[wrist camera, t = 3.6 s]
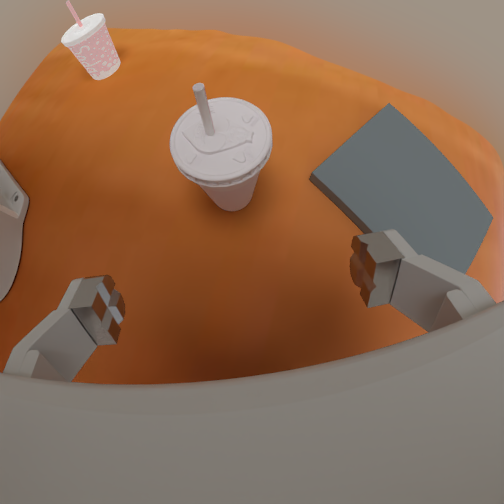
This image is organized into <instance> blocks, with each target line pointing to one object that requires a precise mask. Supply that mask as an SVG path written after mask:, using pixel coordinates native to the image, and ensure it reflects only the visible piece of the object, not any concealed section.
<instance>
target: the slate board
mask: <svg viewBox="0 0 504 504" xmlns="http://www.w3.org/2000/svg"><path fill="white" fill-rule="evenodd" d="M309 180H310V181H311V182H312V183H313V184H315V185H316V186H317V187H318V188H319V189H320V190H321V191H322V192H323V193H324V194H325V195H326V196H327V197H328V198H329V199H330V200H332V201H333V202H334V203H335V204H336V205H337V206H338V207H339V208H340V209H341V210H342V211H343V212H344V213H345V214H346V215H347V216H348V217H349V218H350V219H351V220H352V221H353V222H354V223H355V224H356V225H357V226H358V227H359V228H360V229H361V230H362V231H363V232H364V233H365V234H369V233H375V232H380V231H384V230H389V229H394V230H396V231H397V232H398V233H399V234H400V235H401V236H402V237H403V238H404V239H405V241H406V242H407V243H408V244H409V245H410V246H411V247H412V248H413V250H414V251H415V252H416V253H417V254H418V255H424V256H426V257H429V258H431V259H433V260H435V261H438V262H440V263H442V264H444V265H446V266H448V267H451V268H453V269H455V270H457V271H459V272H461V273H463V274H466V272H467V270H468V268H469V266H470V265H471V263H472V261H473V259H474V257H475V255H476V253H477V251H478V249H479V247H480V245H481V243H482V241H483V239H484V237H485V235H486V233H487V230H488V228H489V226H490V224H491V222H492V219H493V217H492V215H491V214H490V212H489V211H488V209H487V208H486V207H485V205H484V204H483V203H482V201H481V200H480V198H479V197H478V196H477V195H476V193H475V192H474V191H473V189H472V188H471V187H470V185H469V184H468V183H467V182H466V181H465V179H464V178H463V177H462V176H461V174H460V173H459V172H458V171H457V170H456V169H455V167H454V166H453V165H452V164H451V163H450V162H449V161H448V159H447V158H446V157H445V156H444V155H443V154H442V153H441V152H440V151H439V150H438V149H437V148H436V147H435V146H434V144H433V143H432V142H431V141H430V140H429V139H428V138H427V137H426V136H425V135H424V134H423V133H422V132H421V131H420V130H418V129H417V128H416V127H415V126H414V125H413V124H412V123H411V122H410V121H409V120H408V119H407V118H406V117H404V116H403V115H402V114H401V113H400V112H399V111H398V110H397V109H395V108H394V107H393V106H392V105H391V104H390V103H389V104H387V105H386V106H385V107H384V108H383V109H382V110H381V111H380V112H378V113H377V114H376V115H375V116H374V117H373V118H372V119H371V120H369V121H368V122H367V123H366V124H365V125H364V126H363V127H362V128H361V129H359V130H358V131H357V132H356V133H355V134H354V135H353V136H352V137H351V138H349V139H348V140H347V141H346V142H345V143H344V144H343V145H342V146H341V147H339V148H338V149H337V150H336V151H335V152H334V153H333V154H332V155H331V156H330V157H328V158H327V159H326V160H325V161H324V162H323V163H322V164H321V165H320V166H319V167H318V168H316V169H315V170H314V171H313V172H312V174H311V176H310V178H309Z"/></svg>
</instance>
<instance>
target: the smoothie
mask: <svg viewBox="0 0 504 504" xmlns="http://www.w3.org/2000/svg"><path fill="white" fill-rule="evenodd" d="M193 91H194V95H195V98H196V102H197V105H195V106H193V107H192V108H190V109H189V110H187V111H186V112H185V113H184V114H183V115H182V116H181V117H180V118H179V119H178V121H177V122H176V124H175V126H174V128H173V130H172V133H171V136H170V151H171V154H172V157H173V159H174V162H175V164H176V166H177V168H178V169H179V171H180V172H181V173H182V174H183V175H184V176H185V177H186V178H187V179H189V180H191V181H193V182H195V183H197V184H198V185H199V186H200V187H201V188H202V189H203V190H204V191H205V192H206V193H207V195H208V196H209V197H210V198H211V199H212V200H213V201H214V202H215V203H216V205H217V206H218V207H220V208H221V209H223V210H226V211H237V210H240V209H242V208H244V207H245V206H246V205H248V203H249V202H250V200H251V198H252V195H253V192H254V188H255V185H256V182H257V179H258V175H259V172H260V170H261V169H262V168H263V166H264V165H265V163H266V162H267V160H268V159H269V157H270V153H271V150H272V130H271V126H270V123H269V121H268V119H267V117H266V116H265V114H264V113H263V112H262V111H261V110H260V109H259V108H258V107H256V106H255V105H253V104H251V103H249V102H247V101H244V100H241V99H237V98H229V97H222V98H214V99H209V100H207V97H206V92H205V88H204V85H203V84H202V83H197V84H195V85H194V86H193Z"/></svg>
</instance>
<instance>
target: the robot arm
mask: <svg viewBox="0 0 504 504" xmlns="http://www.w3.org/2000/svg"><path fill="white" fill-rule="evenodd" d="M28 204H29V198H28V196H27V194H26V193H25V192H24V191H23V189H22V188H21V187H20V186H19V184H18V183H17V182H16V180H15V179H14V178H13V176H12V175H11V174H10V172H9V171H8V170H7V168H6V167H5V165H4V164H3V163H2V161H1V160H0V301H1V300H2V299H3V298H4V297H5V295H6V294H7V293H8V291H9V289H10V287H11V285H12V283H13V281H14V278H15V275H16V272H17V268H18V264H19V259H20V254H21V246H22V228H23V221H24V218H25V215H26V212H27V208H28ZM351 247H352V249H353V251H354V254H353V255H352V256H351V258H350V274H351V277H352V280H353V282H354V284H355V285H356V286H358V287H360V288H361V291H360V295H361V297H362V299H363V301H364V302H365V304H366V306H367V308H370V307H374V306H379V305H383V304H388V303H390V305H392V306H393V307H395V308H396V309H397V310H399V311H400V312H401V313H403V314H404V315H406V316H407V317H408V318H410V319H411V320H413V321H414V322H415V323H417V324H418V325H419V326H421V327H422V328H423V329H425V330H426V331H428V332H429V333H426V334H423V335H421V336H418V337H415V338H412V339H409V340H406V341H403V342H400V343H397V344H393V345H390V346H387V347H384V348H380V349H377V350H373V351H370V352H366V353H362V354H359V355H355V356H351V357H347V358H343V359H339V360H335V361H331V362H326V363H322V364H317V365H313V366H308V367H303V368H298V369H292V370H287V371H281V372H275V373H269V374H263V375H256V376H249V377H241V378H233V379H224V380H214V381H203V382H190V383H173V384H93V383H77V382H71V381H72V380H73V378H74V377H75V376H76V374H77V373H78V372H79V370H80V369H81V368H82V366H83V365H84V363H85V362H86V361H87V359H88V358H89V357H90V355H91V354H92V353H93V352H94V350H95V349H96V348H97V345H110V344H117V341H118V338H119V334H120V330H121V329H120V327H119V325H118V324H119V323H120V322H121V321H122V320H123V319H124V316H125V303H124V300H123V298H122V296H121V294H120V293H119V292H118V291H116V290H115V289H114V287H115V282H114V280H113V279H112V277H111V276H109V275H100V276H93V277H86V278H79V279H74V280H72V281H71V283H70V285H69V287H68V289H67V291H66V293H65V294H64V296H63V298H62V300H61V302H60V304H59V306H58V308H57V310H54V311H52V312H51V313H50V314H49V315H48V316H47V317H46V318H45V319H44V320H42V321H41V322H40V323H39V324H38V325H37V326H36V327H35V328H34V329H33V330H32V331H30V332H29V333H28V334H27V335H26V336H25V337H24V338H23V339H22V340H21V341H20V342H19V343H18V344H17V345H16V346H15V347H14V348H13V350H12V352H11V355H10V357H9V359H8V362H7V364H6V366H5V369H4V371H3V373H0V504H504V301H502V302H500V303H497V304H496V302H495V301H494V300H493V299H492V297H491V296H490V295H489V294H488V292H487V291H486V290H485V289H484V287H483V286H482V285H481V284H480V283H479V281H478V280H476V279H474V278H471V277H469V276H467V275H465V274H463V273H461V272H459V271H457V270H455V269H453V268H451V267H448V266H446V265H444V264H442V263H440V262H438V261H435V260H433V259H431V258H429V257H426V256H424V255H418V254H417V253H416V252H415V251H414V250H413V248H412V247H411V246H410V245H409V244H408V243H407V242H406V241H405V239H404V238H403V237H402V236H401V235H400V234H399V233H398V232H397V231H396V230H394V229H389V230H384V231H380V232H375V233H369V234H363V235H358V236H353V239H352V244H351Z"/></svg>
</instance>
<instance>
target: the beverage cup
mask: <svg viewBox="0 0 504 504" xmlns="http://www.w3.org/2000/svg"><path fill="white" fill-rule="evenodd" d="M66 4H67V6H68V8H69V9H70V11H71V13H72V15H73V17H74V18H75V20H76V22H77V23H76V24H74V25H73V26H72V27H71V28H70V29H69V30H68V31H67V32H66V33H65V34H64V35H63V37H62V41H61V42H62V43H63V44H64V46H66V47H68V48H69V49H70V50H71V52H72V53H73V54H74V55H75V57H76V58H77V59H78V60H79V61H80V63H81V64H82V65H83V66H84V68H85V69H86V70H87V71H88V73H89V74H90V75H91V76H92V78H93V79H95V80H101V79H104V78H107V77H108V76H110V75H112V74H113V73H114V72H115V71H116V70H117V69H118V68H119V66H120V63H121V62H120V59H119V57H118V54H117V52H116V50H115V47H114V45H113V42H112V40H111V38H110V35H109V33H108V30H107V28H106V25H105V18H104V15H103V14H100V13H98V14H93V15H91V16H88V17H86V18H84V19H82V20H80V19H79V18H78V16H77V14H76V12H75V10H74V9H73V7H72V5H71V3H70V1H69V0H68V1H66Z"/></svg>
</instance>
